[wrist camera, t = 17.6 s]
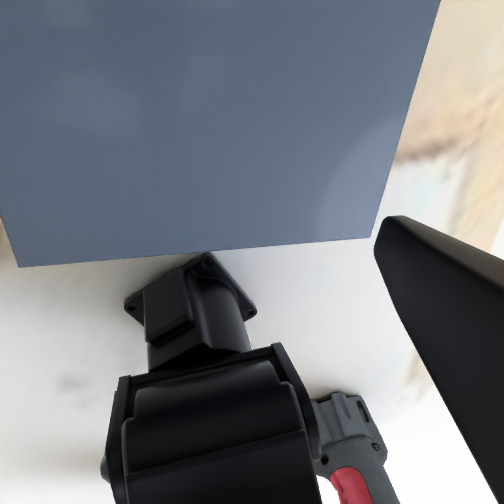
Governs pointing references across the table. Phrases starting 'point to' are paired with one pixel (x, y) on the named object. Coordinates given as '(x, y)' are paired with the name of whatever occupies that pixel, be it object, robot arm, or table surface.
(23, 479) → the table surface
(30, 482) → the table surface
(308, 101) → the cabinet
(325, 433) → the flashlight
